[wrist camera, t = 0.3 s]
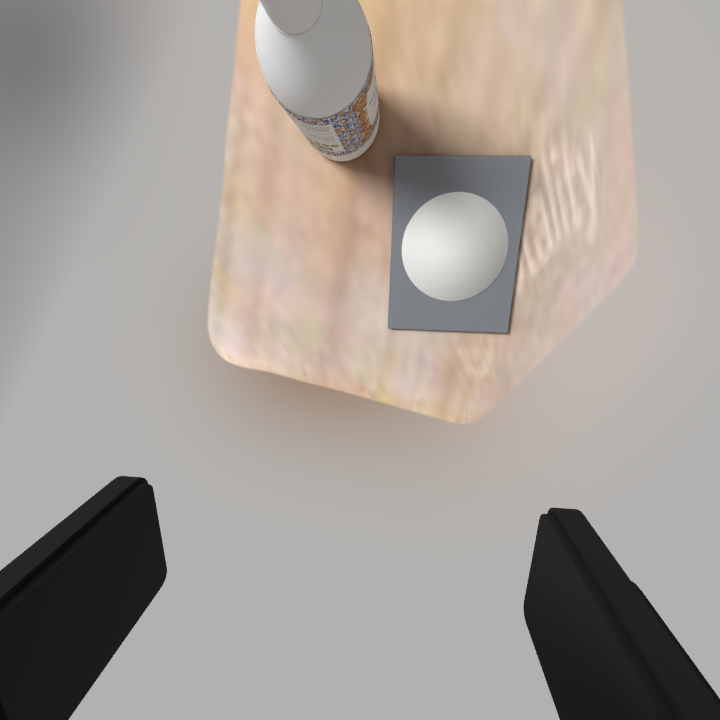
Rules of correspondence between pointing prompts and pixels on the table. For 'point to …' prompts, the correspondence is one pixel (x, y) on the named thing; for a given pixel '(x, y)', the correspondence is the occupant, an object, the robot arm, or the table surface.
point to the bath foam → (321, 71)
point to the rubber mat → (455, 241)
